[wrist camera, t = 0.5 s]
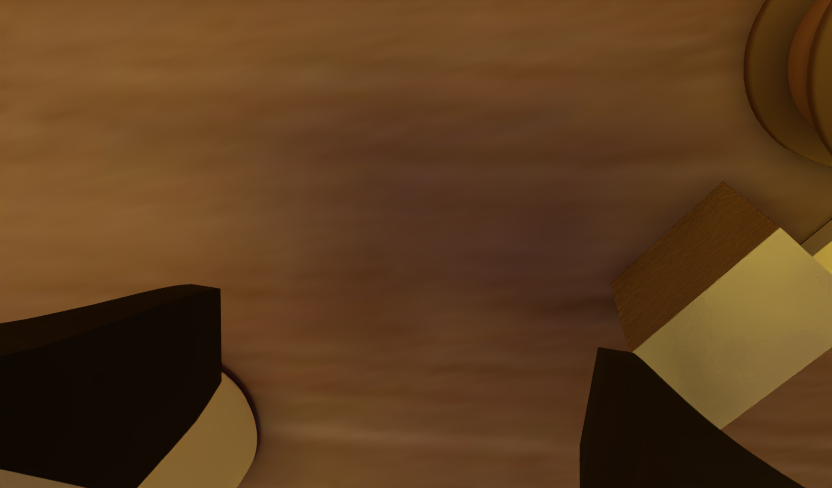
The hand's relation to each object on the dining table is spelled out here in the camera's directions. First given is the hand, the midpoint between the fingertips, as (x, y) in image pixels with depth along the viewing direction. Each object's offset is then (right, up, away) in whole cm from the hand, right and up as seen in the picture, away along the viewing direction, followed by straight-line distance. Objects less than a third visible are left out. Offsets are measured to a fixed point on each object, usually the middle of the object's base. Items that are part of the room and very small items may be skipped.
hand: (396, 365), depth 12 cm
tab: (+9, +2, +8) cm, 12 cm away
